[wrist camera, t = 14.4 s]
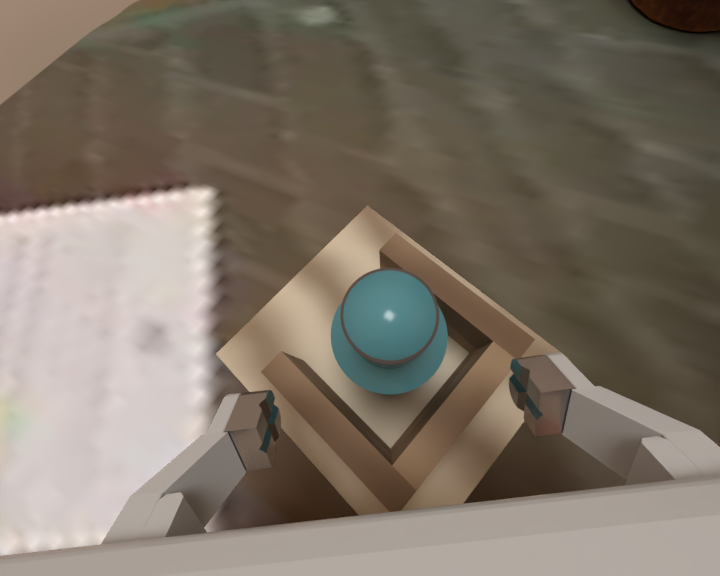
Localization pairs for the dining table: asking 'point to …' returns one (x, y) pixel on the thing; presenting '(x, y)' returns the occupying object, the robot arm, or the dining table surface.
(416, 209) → the dining table surface
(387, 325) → the teal bottle
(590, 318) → the dining table surface
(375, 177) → the dining table surface
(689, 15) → the case
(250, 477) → the dining table surface
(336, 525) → the robot arm
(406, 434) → the bottle stand
